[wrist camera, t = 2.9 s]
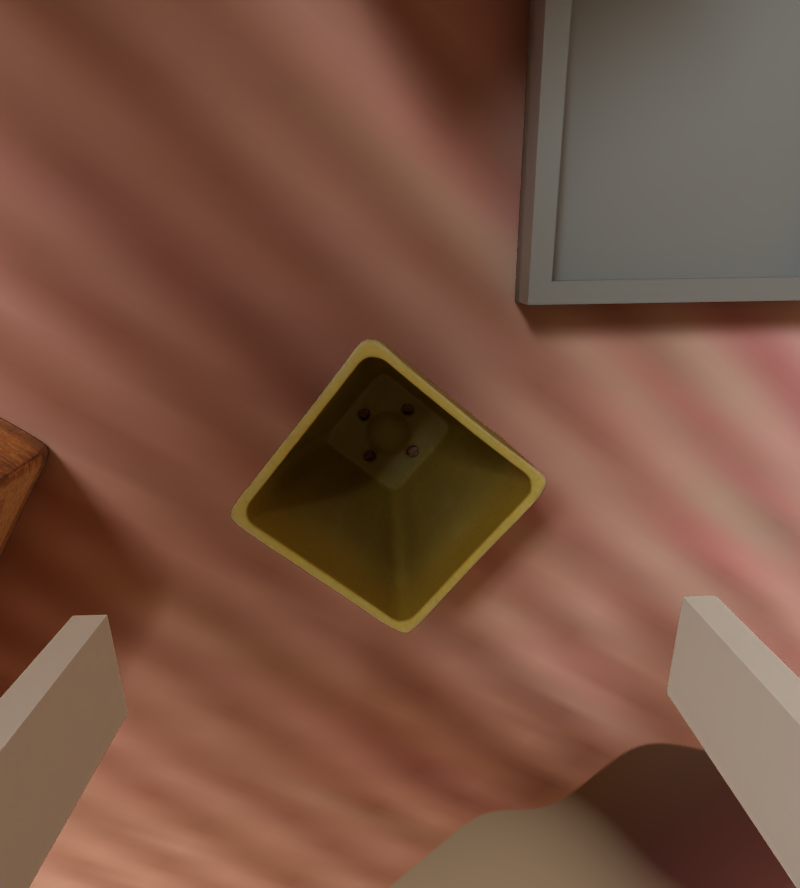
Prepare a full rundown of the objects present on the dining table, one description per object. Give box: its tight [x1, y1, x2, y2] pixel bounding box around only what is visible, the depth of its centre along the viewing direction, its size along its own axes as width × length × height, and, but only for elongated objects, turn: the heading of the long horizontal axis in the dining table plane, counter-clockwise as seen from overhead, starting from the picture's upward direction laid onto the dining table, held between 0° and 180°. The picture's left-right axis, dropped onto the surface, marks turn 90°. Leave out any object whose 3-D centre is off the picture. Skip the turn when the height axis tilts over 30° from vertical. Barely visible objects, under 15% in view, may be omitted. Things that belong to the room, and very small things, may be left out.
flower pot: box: [230, 339, 547, 633], centre depth 25 cm, size 9×9×9 cm
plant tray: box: [515, 0, 800, 305], centre depth 24 cm, size 15×15×2 cm
